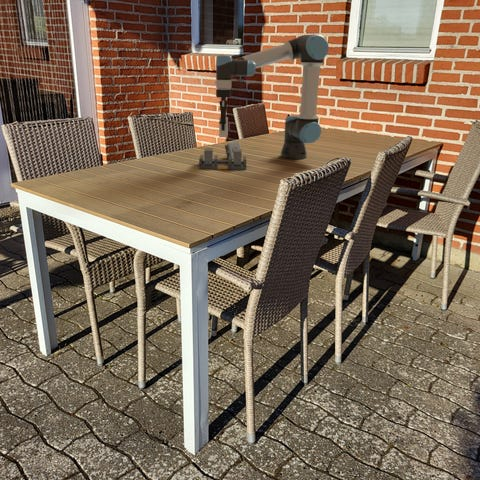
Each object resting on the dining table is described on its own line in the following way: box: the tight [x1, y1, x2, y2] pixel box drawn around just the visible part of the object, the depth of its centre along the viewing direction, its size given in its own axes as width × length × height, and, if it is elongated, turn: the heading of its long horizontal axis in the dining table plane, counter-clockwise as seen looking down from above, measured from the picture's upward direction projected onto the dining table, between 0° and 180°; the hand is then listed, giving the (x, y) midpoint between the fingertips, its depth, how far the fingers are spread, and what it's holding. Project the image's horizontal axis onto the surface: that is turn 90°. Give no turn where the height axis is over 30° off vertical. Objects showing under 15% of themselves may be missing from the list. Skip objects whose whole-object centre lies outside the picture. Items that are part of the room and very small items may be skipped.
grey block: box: [218, 116, 229, 138], centre depth 241 cm, size 4×8×9 cm, turn 0°
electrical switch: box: [224, 140, 241, 161], centre depth 267 cm, size 9×5×9 cm, turn 141°
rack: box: [198, 147, 247, 171], centre depth 247 cm, size 24×14×9 cm, turn 90°
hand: (223, 135), depth 243 cm, fingers closed on grey block, 8 cm apart
